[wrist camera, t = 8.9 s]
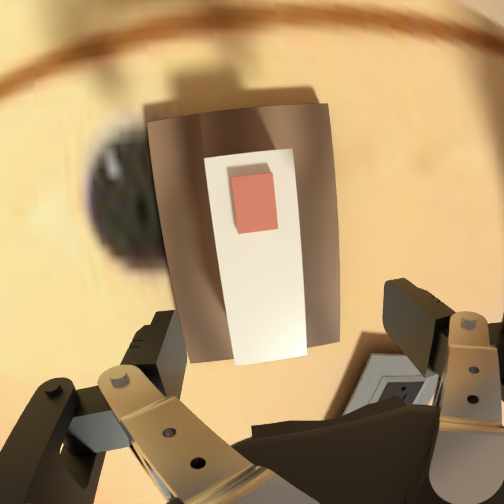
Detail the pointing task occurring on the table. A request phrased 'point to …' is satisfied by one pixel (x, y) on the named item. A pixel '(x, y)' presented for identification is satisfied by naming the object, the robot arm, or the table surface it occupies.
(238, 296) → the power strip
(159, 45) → the table surface
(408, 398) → the electrical outlet
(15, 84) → the table surface
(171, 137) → the brown wooden slotted board
